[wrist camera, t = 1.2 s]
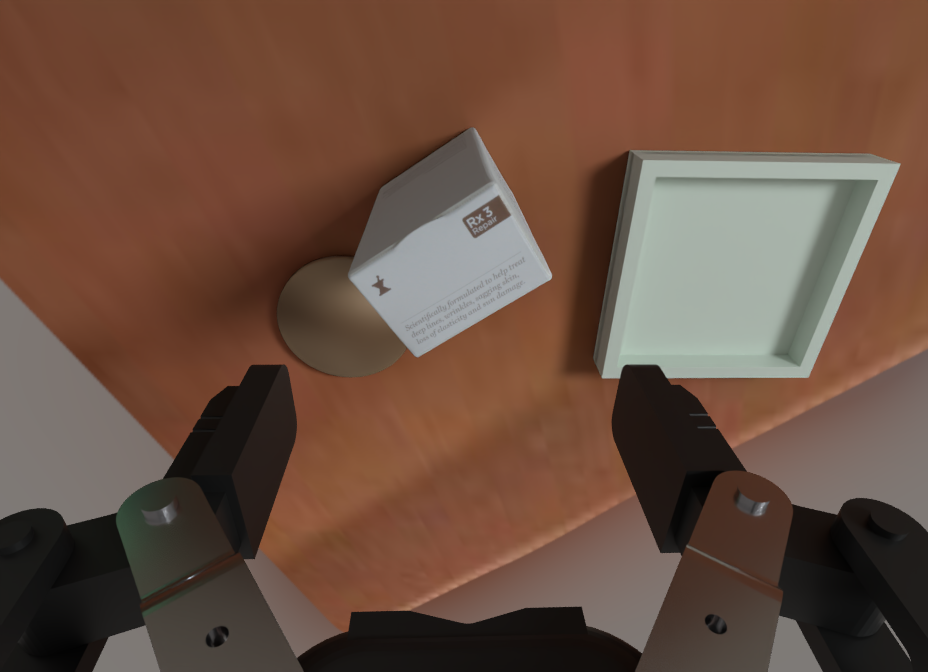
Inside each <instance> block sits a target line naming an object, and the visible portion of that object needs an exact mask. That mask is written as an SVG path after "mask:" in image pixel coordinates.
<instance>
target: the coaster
mask: <svg viewBox="0 0 928 672" xmlns="http://www.w3.org/2000/svg"><path fill="white" fill-rule="evenodd" d="M353 259H354V257H351V256H330V257H325V258H321V259H318V260H314V261H312V262H310V263H308V264H306V265H305V266H303V267H302V268H300V269H299V270H298V271H296V272H295V273H294V274H293V275H292V277H291V278H290V279H289V280H288V282H287V283H286V285H285V287H284V289H283V290H282V292H281V295H280V297H279V301H278V305H277V321H278V326H279V330H280V332H281V335H282V337H283V339H284V341H285V342H286V344H287V345H288V347H289V348H290V349H291V351H292V352H293V353H294V354H295V355H296V356H297V357H298V358H300V359H301V360H302V361H303V362H305V363H306V364H308V365H309V366H311V367H313V368H315V369H317V370H319V371H322V372H324V373H327V374H331V375H335V376H341V377H361V376H367V375H371V374H374V373H377V372H380V371H382V370H384V369H386V368H387V367H389V366H391V365H392V364H393V363H394V362H396V361H397V360H398V359H399V358H400V357H401V356H402V354H403V353H404V352H405V350H406V348H407V347H406V346H405V345H404V344H403V342H402V341H401V340H400V339H399V338H398V337H397V335H396V334H395V333H394V332H393V331H392V329H391V328H390V327H389V326H388V325H387V323H386V322H385V321H384V320H383V319H382V317H381V316H380V315H379V314H378V313H377V311H376V310H375V309H374V308H373V307H372V306H371V304H370V303H369V302H368V301H367V300H366V298H365V297H364V296H363V295H362V294H361V292H360V291H359V290H358V289H357V288H356V286H355V285H354V284H353V283H352V282H351V281H350V279H349V278H348V272H349V270H350V267H351V264H352V262H353Z"/></svg>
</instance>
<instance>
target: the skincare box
mask: <svg viewBox="0 0 928 672" xmlns="http://www.w3.org/2000/svg"><path fill="white" fill-rule="evenodd" d="M348 278H349V279H350V281H351V282H352V283H353V284H354V285H355V286H356V288H357V289H358V290H359V291H360V292H361V294H362V295H363V296H364V297H365V298H366V300H367V301H368V302H369V303H370V304H371V306H372V307H373V308H374V309H375V310H376V311H377V313H378V314H379V315H380V316H381V317H382V319H383V320H384V321H385V322H386V323H387V325H388V326H389V327H390V328H391V329H392V331H393V332H394V333H395V334H396V335H397V337H398V338H399V339H400V340H401V341H402V342H403V344H404V345H405V346H406V347H407V348H408V349H409V350H410V351H411V352H412V354H413V355H414V356H415V357H419V356H421V355H423V354H425V353H426V352H428V351H430V350H431V349H433V348H435V347H436V346H438V345H440V344H441V343H443V342H445V341H446V340H448V339H450V338H452V337H453V336H455V335H457V334H458V333H460V332H462V331H463V330H465V329H467V328H468V327H470V326H472V325H474V324H475V323H477V322H479V321H480V320H482V319H484V318H485V317H487V316H489V315H490V314H492V313H494V312H496V311H497V310H499V309H501V308H502V307H504V306H506V305H507V304H509V303H511V302H513V301H514V300H516V299H518V298H520V297H521V296H523V295H525V294H526V293H528V292H530V291H531V290H533V289H535V288H537V287H538V286H540V285H542V284H543V283H545V282H547V281H549V280H551V278H552V274H551V272H550V270H549V267H548V265H547V263H546V261H545V259H544V257H543V255H542V253H541V251H540V249H539V247H538V245H537V243H536V241H535V239H534V237H533V235H532V233H531V231H530V229H529V227H528V224H527V222H526V220H525V218H524V216H523V214H522V212H521V210H520V208H519V206H518V204H517V202H516V199H515V197H514V195H513V193H512V192H511V190H510V188H509V187H508V185H507V184H506V182H505V180H504V179H503V177H502V175H501V174H500V172H499V170H498V168H497V167H496V165H495V163H494V161H493V160H492V158H491V156H490V154H489V153H488V151H487V149H486V147H485V145H484V144H483V142H482V140H481V138H480V136H479V135H478V133H477V131H476V129H475V128H469V129H468V130H466V131H465V132H463V133H462V134H460V135H459V136H457V137H456V138H454V139H453V140H451V141H450V142H448V143H447V144H445V145H444V146H442V147H441V148H439V149H438V150H436V151H435V152H433V153H432V154H430V155H429V156H427V157H426V158H424V159H423V160H421V161H420V162H418V163H417V164H416V165H414V166H413V167H411V168H410V169H408V170H407V171H405V172H404V173H402V174H401V175H399V176H398V177H396V178H395V179H393V180H392V181H390V182H389V183H387V184H386V185H384V186H383V187H382V188H380V190H379V193H378V195H377V198H376V201H375V203H374V206H373V209H372V212H371V214H370V217H369V220H368V222H367V225H366V228H365V230H364V233H363V236H362V238H361V241H360V243H359V246H358V249H357V251H356V254H355V256H354V259H353V262H352V264H351V267H350V270H349V272H348Z"/></svg>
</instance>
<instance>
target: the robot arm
mask: <svg viewBox="0 0 928 672" xmlns="http://www.w3.org/2000/svg"><path fill="white" fill-rule="evenodd" d="M707 414H708V413H707V412H706V410H705V409H704V407H703V406H702V404H701V403H700V401H699V400H698V398H696V397H695V396H694V395H693V394H691V393H690V392H689V391H687V390H686V389H685V388H683V387H682V386H681V385H671V384H670V382H669V381H668V379H667V378H666V376H665V374H664V373H663V371H662V370H661V368H660V367H659V366H658V365H656V364H627V365H624V367H623V368H622V371H621V375H620V380H619V385H618V390H617V395H616V399H615V404H614V409H613V414H612V432H613V437H614V441H615V443H616V446H617V448H618V451H619V453H620V455H621V458H622V460H623V463H624V465H625V468H626V470H627V472H628V475H629V477H630V480H631V482H632V485H633V487H634V489H635V492H636V494H637V497H638V499H639V502H640V504H641V506H642V509H643V511H644V514H645V516H646V518H647V521H648V523H649V526H650V528H651V531H652V533H653V536H654V538H655V540H656V543H657V545H658V548H659V550H660V553H681V556H682V558H681V560H680V562H679V565H678V568H677V570H676V572H675V575H674V577H673V580H672V582H671V584H670V587H669V589H668V592H667V594H666V597H665V599H664V602H663V604H662V607H661V609H660V611H659V614H658V617H657V619H656V621H655V624H654V626H653V629H652V631H651V634H650V637H649V639H648V641H647V644H646V646H645V648H644V651H643V653H641V652H639V651H638V650H637V649H635V648H634V647H632V646H631V645H629V644H628V643H626V642H624V641H623V640H621V639H619V638H617V637H615V636H613V635H611V634H609V633H607V632H604V631H601V630H599V629H596V628H593V627H588V626H586V623H585V619H584V615H583V611H582V607H552V608H551V607H548V608H524V609H521V610H517V611H514V612H510V613H507V614H504V615H500V616H497V617H494V618H490V619H486V620H483V621H479V622H476V623H471V624H464V623H459V622H455V621H450V620H446V619H442V618H437V617H433V616H429V615H425V614H420V613H416V612H412V611H376V612H351V619H350V625H349V631H348V632H345V633H341V634H339V635H336V636H334V637H331V638H329V639H326V640H324V641H323V642H321V643H319V644H317V645H315V646H314V647H312V648H311V649H309V650H308V651H306V652H305V653H303V654H302V655H300V656H299V657H298V658H296V656H295V654H294V652H293V651H292V649H291V647H290V645H289V643H288V641H287V639H286V637H285V636H284V634H283V632H282V630H281V628H280V626H279V624H278V622H277V621H276V619H275V617H274V615H273V613H272V611H271V609H270V608H269V606H268V604H267V602H266V600H265V598H264V596H263V595H262V593H261V591H260V589H259V587H258V585H257V583H256V581H255V579H254V578H253V576H252V574H251V572H250V570H249V568H248V566H247V565H246V563H245V561H244V559H255V556H256V554H257V551H258V548H259V545H260V542H261V539H262V536H263V533H264V530H265V527H266V524H267V521H268V519H269V516H270V513H271V510H272V507H273V504H274V501H275V498H276V495H277V492H278V489H279V486H280V484H281V481H282V478H283V475H284V472H285V469H286V466H287V463H288V460H289V457H290V454H291V451H292V448H293V446H294V442H295V438H296V431H297V419H296V412H295V406H294V400H293V395H292V389H291V383H290V378H289V373H288V369H287V367H286V365H251V366H250V367H249V369H248V371H247V373H246V375H245V376H244V378H243V380H242V382H241V384H240V386H227V387H226V388H225V389H224V390H222V391H221V392H220V393H219V394H217V395H216V396H215V397H213V398H212V399H211V400H210V401H209V403H208V405H207V406H206V408H205V410H204V411H203V413H202V415H201V419H199V420H198V421H197V423H196V425H195V426H194V428H193V432H191V433H190V435H189V436H188V438H187V440H186V441H185V443H184V445H183V446H182V448H181V450H180V451H179V453H178V455H177V456H176V458H175V460H174V461H173V463H172V465H171V466H170V468H169V470H168V471H167V473H166V475H165V476H164V478H163V479H162V480H158V481H155V482H152V483H150V484H148V485H146V486H144V487H142V488H140V489H139V490H137V491H136V492H134V493H133V494H132V495H131V496H129V497H128V498H127V499H126V500H125V502H124V503H123V504H122V505H121V507H120V509H119V511H118V512H117V513H115V514H111V515H107V516H103V517H100V518H96V519H91V520H87V521H84V522H80V523H75V524H71V525H66V523H65V521H64V519H63V518H62V516H61V515H60V514H59V513H58V512H57V511H54V510H51V509H46V508H41V509H40V508H37V509H30V510H25V511H21V512H18V513H15V514H12V515H10V516H8V517H5V518H3V519H1V520H0V672H92V671H93V669H94V667H95V665H96V663H97V661H98V658H99V656H100V654H101V652H102V650H103V648H104V646H105V644H106V642H107V639H108V637H110V636H112V635H116V634H119V633H122V632H125V631H129V630H131V629H135V628H138V627H141V626H144V625H146V628H147V631H148V634H149V637H150V640H151V643H152V647H153V650H154V653H155V656H156V659H157V662H158V665H159V668H160V672H768V668H769V663H770V658H771V653H772V647H773V643H774V638H775V632H776V628H777V623H778V618H779V616H783V617H787V618H790V619H794V620H796V622H797V623H798V625H799V627H800V629H801V631H802V633H803V635H804V637H805V639H806V641H807V643H808V644H809V646H810V648H811V650H812V652H813V654H814V656H815V658H816V660H817V661H818V663H819V665H820V667H821V669H822V671H823V672H928V532H927V531H926V530H925V529H924V528H923V527H922V526H921V525H920V524H919V523H918V522H917V521H915V519H913V518H912V517H910V516H909V515H908V514H906V513H904V512H902V511H901V510H899V509H897V508H895V507H893V506H891V505H889V504H886V503H883V502H880V501H877V500H873V499H867V498H855V499H850V500H848V501H846V502H845V503H844V504H843V506H842V507H841V509H840V511H839V513H838V515H835V514H831V513H827V512H822V511H818V510H814V509H809V508H805V507H800V506H797V505H793V504H791V501H790V500H789V498H788V497H787V495H786V494H785V493H784V492H783V491H782V490H781V489H780V488H779V487H778V486H776V485H775V484H773V483H772V482H771V481H769V480H767V479H765V478H763V477H761V476H759V475H756V474H753V473H750V472H747V471H746V470H745V468H744V467H743V465H742V464H741V462H740V461H739V459H738V458H737V456H736V455H735V453H734V452H733V450H732V449H731V447H730V446H729V444H728V443H727V441H726V440H725V438H724V437H723V435H722V434H721V433H720V431H719V430H718V429H716V425H715V424H714V422H713V421H712V419H711V418H710V416H708V415H707ZM885 620H887V622H888V623H889V625H890V626H891V628H892V629H893V631H894V632H895V634H896V635H897V637H898V638H899V640H900V641H901V642H902V644H903V645H904V647H905V649H906V650H907V652H908V654H909V656H910V659H911V661H910V659H909V658H908V657H907V655H906V654H905V652H904V651H903V650H902V648H901V646H900V645H899V643H898V642H897V640H896V639H895V637H894V636H893V634H892V633H891V631H890V630H889V628H888V627H887V625H886V624H885V623H884V621H885Z"/></svg>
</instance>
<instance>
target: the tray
mask: <svg viewBox="0 0 928 672" xmlns="http://www.w3.org/2000/svg"><path fill="white" fill-rule="evenodd" d="M899 167H900V163H897V162H894V161H891V160H888V159H885V158H881V157H878V156H875V155H872V154H845V153H780V152H714V151H649V150H630V151H629V156H628V162H627V168H626V173H625V179H624V185H623V191H622V196H621V202H620V208H619V213H618V219H617V225H616V231H615V236H614V242H613V248H612V253H611V259H610V265H609V270H608V276H607V282H606V288H605V293H604V299H603V305H602V310H601V316H600V322H599V327H598V333H597V339H596V345H595V350H594V356H593V359H594V362H595V364H596V366H597V368H598V371H599V373H600V375H601V377H602V378H620V375H621V371H622V368H623V367H624V365H627V364H656V365H658V366H659V367H660V368H661V370H662V371H663V373H664V374H665V376H666V378H808V377H809V375H810V372H811V370H812V368H813V366H814V363H815V361H816V359H817V356H818V354H819V352H820V349H821V347H822V345H823V342H824V340H825V338H826V335H827V333H828V331H829V329H830V326H831V324H832V322H833V319H834V317H835V315H836V312H837V310H838V308H839V305H840V303H841V301H842V298H843V296H844V294H845V292H846V289H847V287H848V285H849V282H850V280H851V278H852V275H853V273H854V271H855V268H856V266H857V264H858V261H859V259H860V257H861V255H862V252H863V250H864V248H865V245H866V243H867V241H868V238H869V236H870V234H871V231H872V229H873V227H874V224H875V222H876V220H877V218H878V215H879V213H880V211H881V208H882V206H883V204H884V201H885V199H886V197H887V194H888V192H889V190H890V188H891V185H892V183H893V181H894V178H895V176H896V174H897V171H898V169H899Z"/></svg>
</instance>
